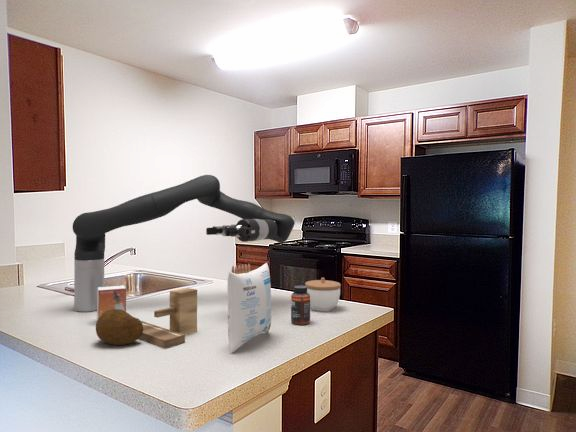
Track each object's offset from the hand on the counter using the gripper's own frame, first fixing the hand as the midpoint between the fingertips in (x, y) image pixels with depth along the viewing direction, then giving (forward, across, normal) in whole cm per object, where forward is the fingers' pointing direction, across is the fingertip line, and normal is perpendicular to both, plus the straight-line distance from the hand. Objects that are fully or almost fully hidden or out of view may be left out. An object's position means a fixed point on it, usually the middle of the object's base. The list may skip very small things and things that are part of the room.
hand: (216, 231), depth 122 cm
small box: (+19, -26, +28) cm, 43 cm away
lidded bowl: (-36, +16, +28) cm, 48 cm away
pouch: (+6, +20, +28) cm, 35 cm away
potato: (+29, -6, +28) cm, 41 cm away
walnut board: (+20, -6, +28) cm, 35 cm away
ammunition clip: (-36, -24, +28) cm, 52 cm away
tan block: (+15, 0, +28) cm, 32 cm away
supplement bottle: (-17, +20, +28) cm, 38 cm away
